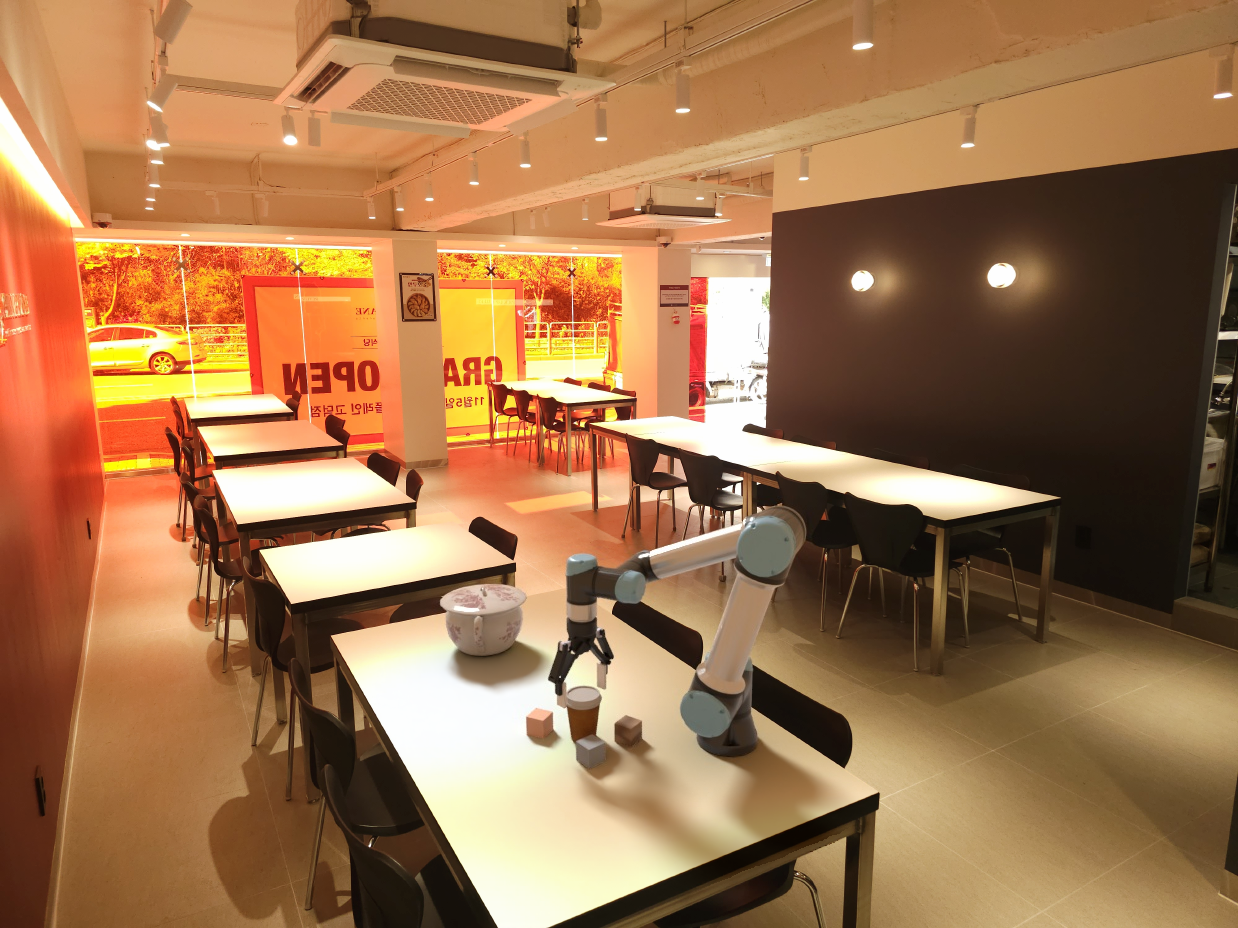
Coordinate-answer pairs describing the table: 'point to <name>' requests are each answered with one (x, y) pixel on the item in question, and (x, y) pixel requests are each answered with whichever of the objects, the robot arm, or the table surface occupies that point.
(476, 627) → the chamber pot
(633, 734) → the walnut cube
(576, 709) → the disposable coffee cup
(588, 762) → the slate grey cube
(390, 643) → the table surface
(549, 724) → the terracotta cube
